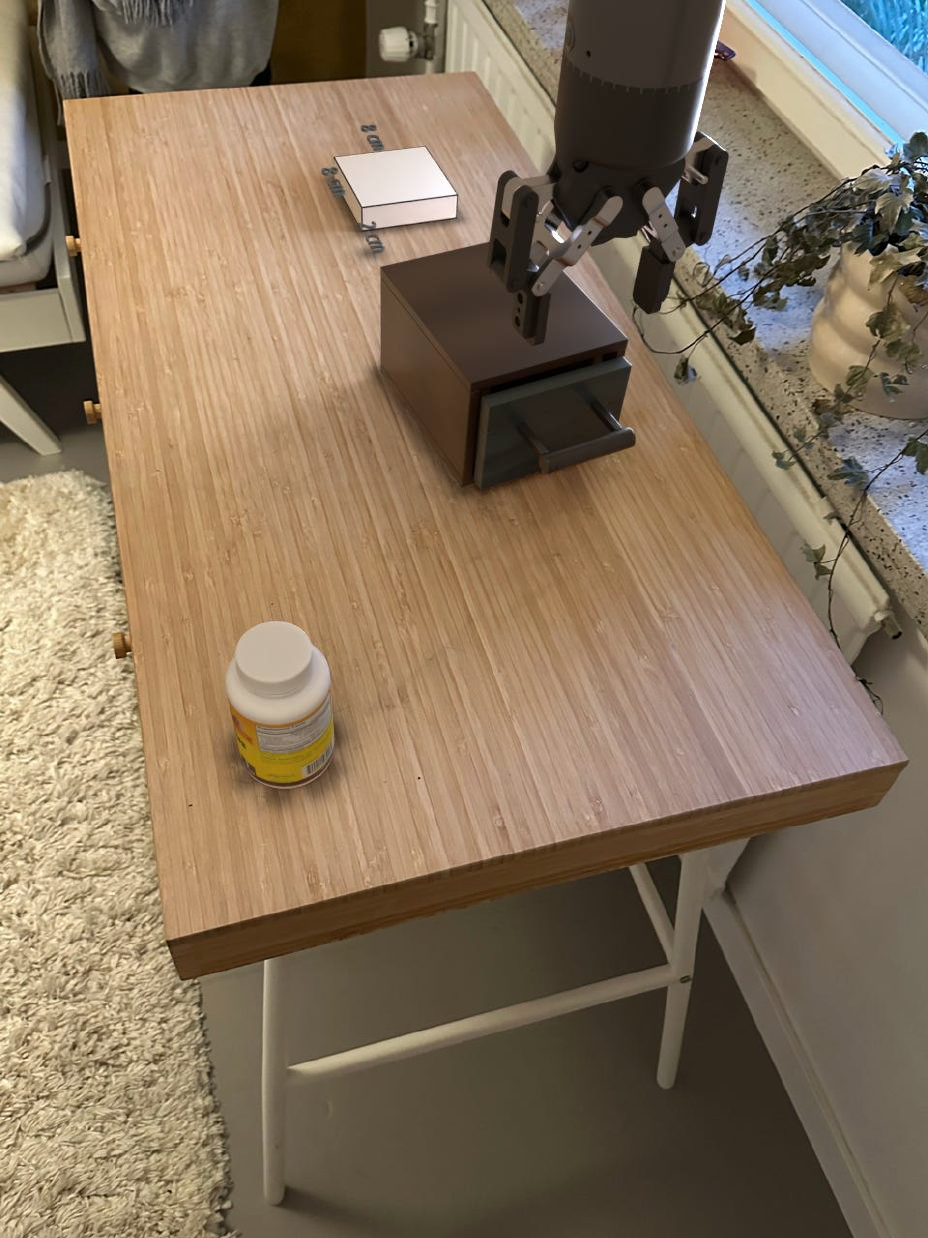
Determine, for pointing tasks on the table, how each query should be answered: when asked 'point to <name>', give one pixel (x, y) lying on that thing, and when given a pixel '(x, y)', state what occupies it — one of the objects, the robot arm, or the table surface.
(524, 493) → the table surface
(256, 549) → the table surface
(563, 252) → the robot arm
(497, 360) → the cabinet
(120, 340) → the table surface
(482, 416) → the drawer
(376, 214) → the container
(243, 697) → the supplement bottle
